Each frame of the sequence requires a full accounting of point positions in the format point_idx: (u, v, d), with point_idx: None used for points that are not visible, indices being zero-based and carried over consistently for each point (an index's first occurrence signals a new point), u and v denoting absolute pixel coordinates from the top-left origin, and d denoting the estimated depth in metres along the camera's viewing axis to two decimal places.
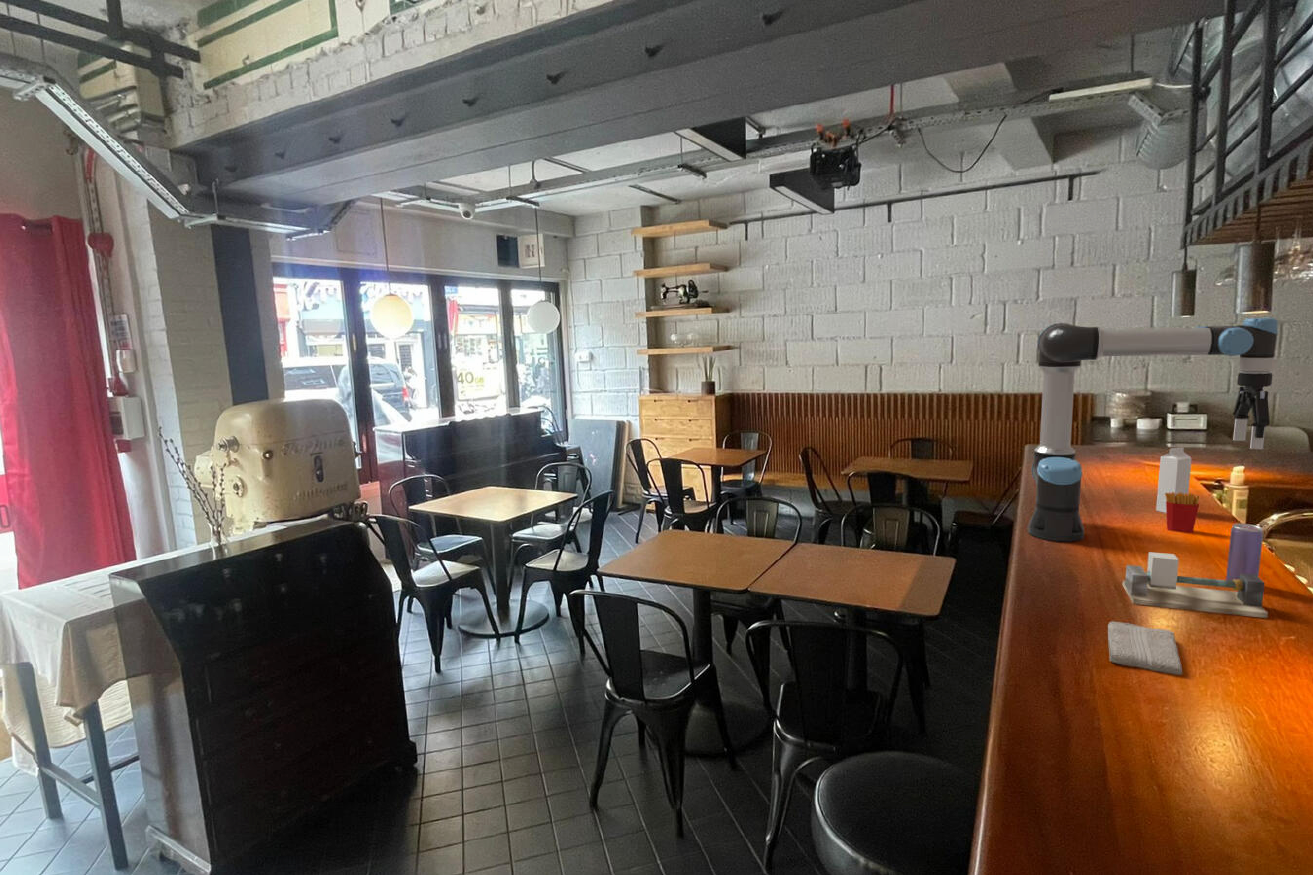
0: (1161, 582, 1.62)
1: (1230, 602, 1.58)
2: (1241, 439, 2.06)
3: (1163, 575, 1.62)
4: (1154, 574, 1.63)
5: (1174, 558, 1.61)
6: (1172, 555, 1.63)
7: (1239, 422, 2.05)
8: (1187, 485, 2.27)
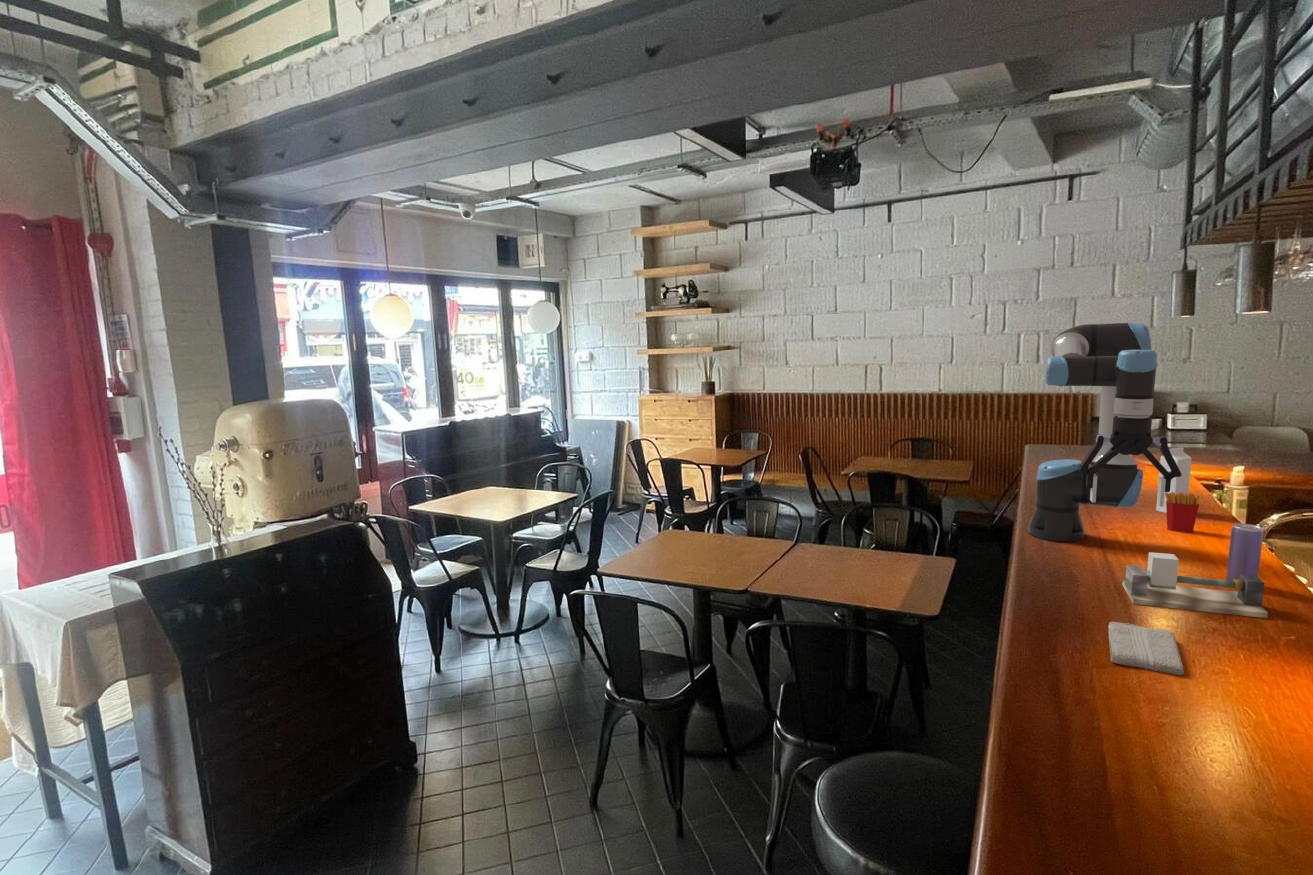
0: (1161, 582, 1.62)
1: (1230, 602, 1.58)
2: (1158, 503, 1.61)
3: (1163, 575, 1.62)
4: (1154, 574, 1.63)
5: (1174, 558, 1.61)
6: (1172, 555, 1.63)
7: (1159, 482, 1.62)
8: (1187, 485, 2.27)
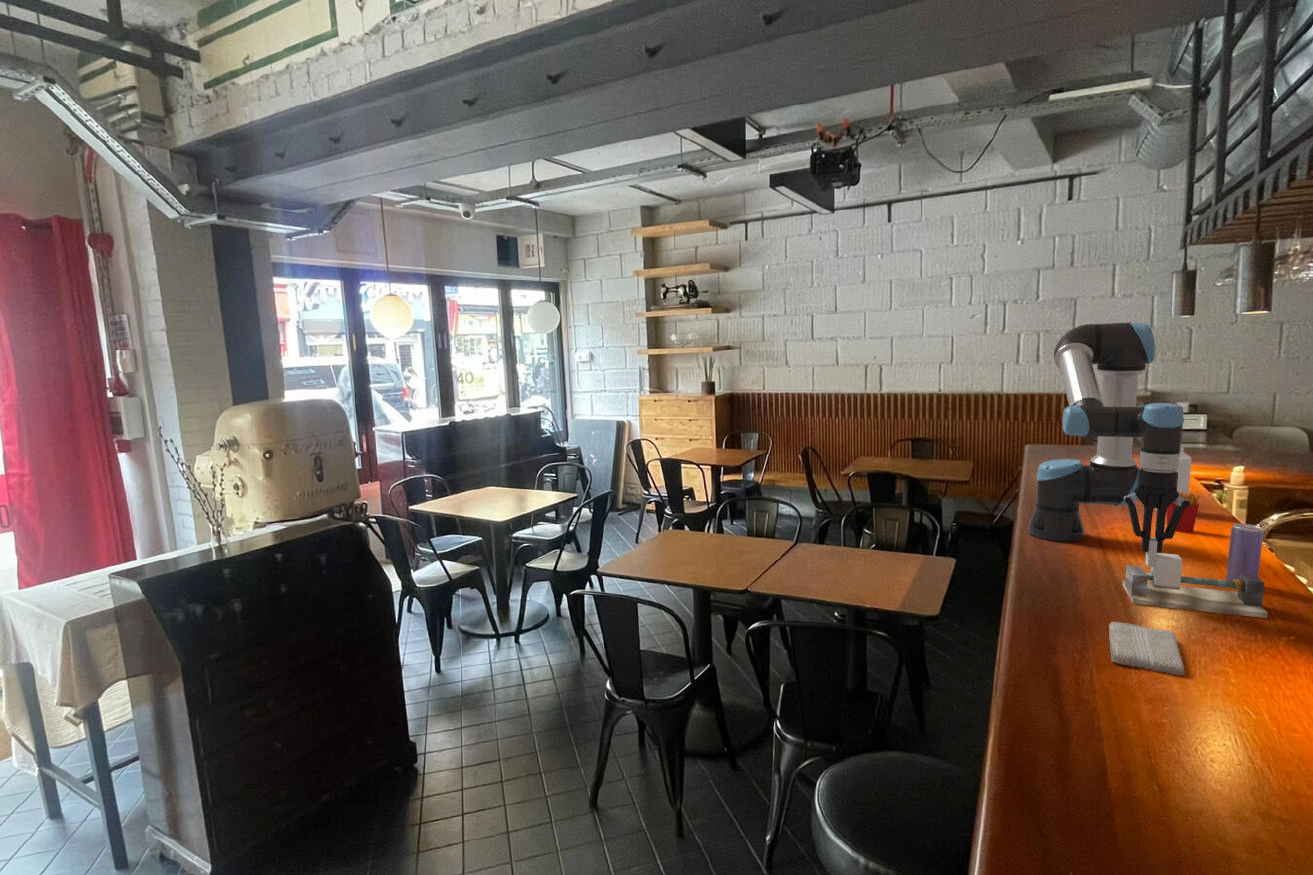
0: (1165, 582, 1.62)
1: (1230, 602, 1.58)
2: None
3: (1167, 575, 1.62)
4: (1158, 574, 1.62)
5: (1178, 558, 1.61)
6: (1176, 555, 1.63)
7: None
8: (1187, 485, 2.27)
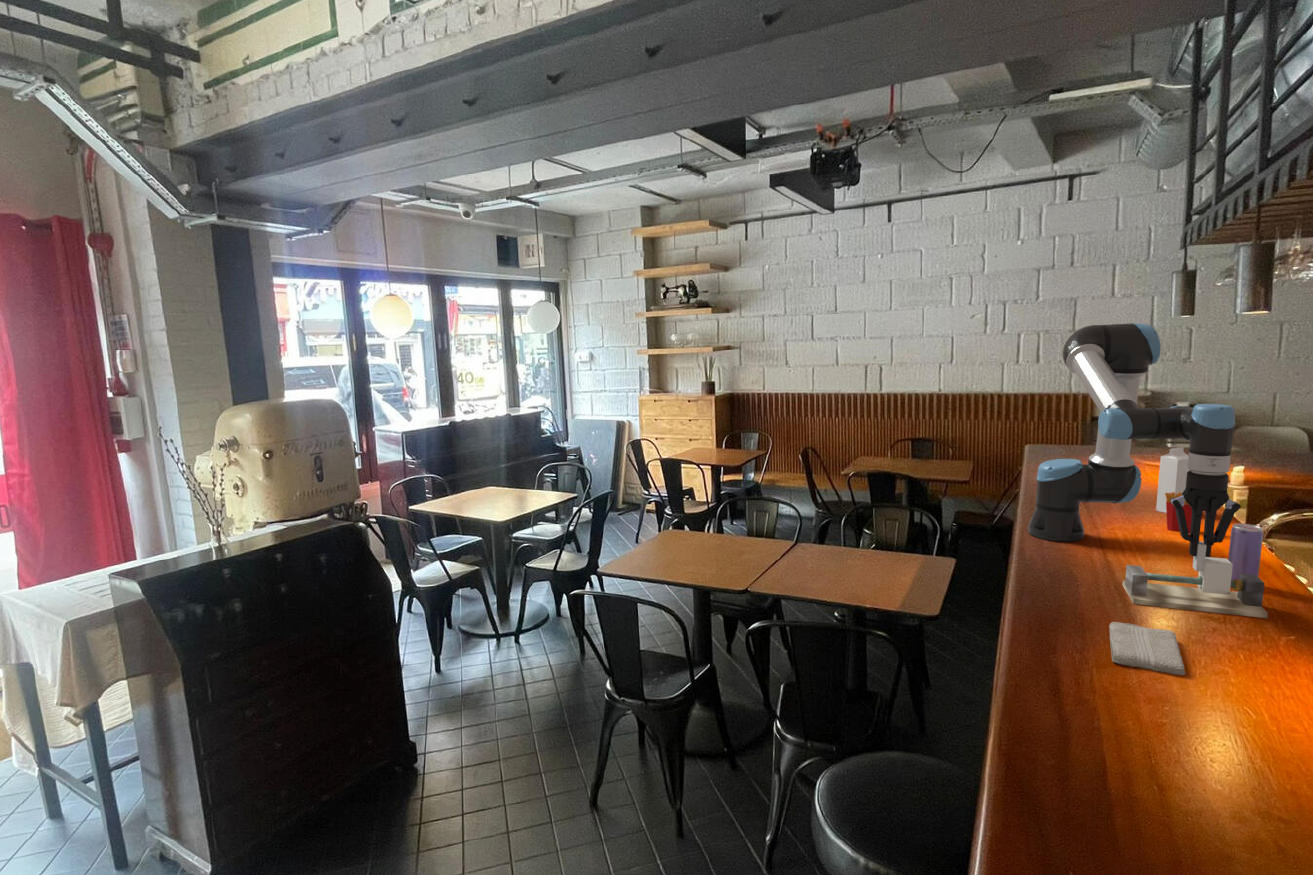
0: (1214, 587, 1.58)
1: (1230, 602, 1.58)
2: None
3: (1216, 580, 1.58)
4: (1207, 579, 1.59)
5: (1228, 563, 1.57)
6: (1225, 559, 1.59)
7: None
8: None
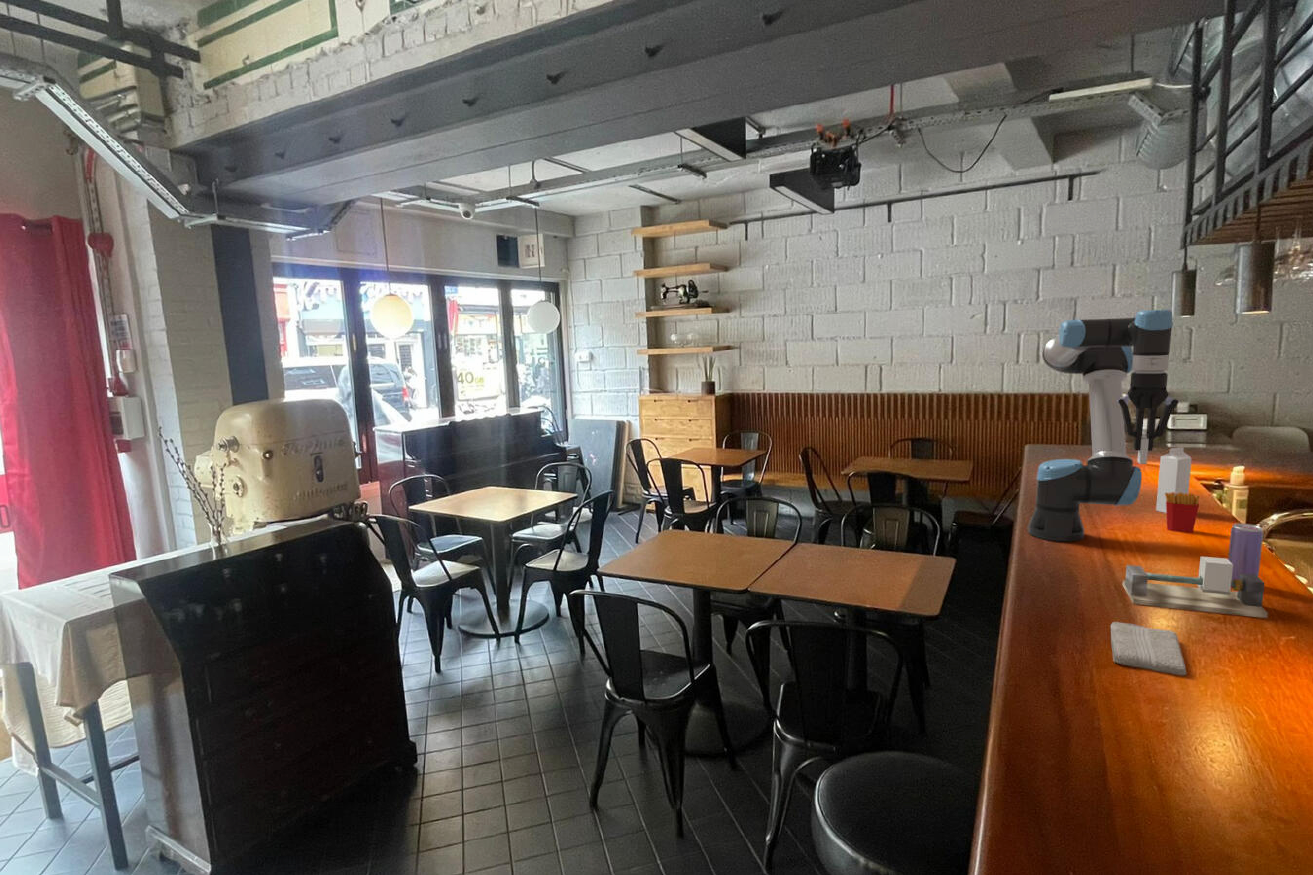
0: (1214, 587, 1.58)
1: (1230, 602, 1.58)
2: None
3: (1216, 580, 1.58)
4: (1207, 579, 1.59)
5: (1228, 563, 1.57)
6: (1225, 559, 1.59)
7: None
8: (1187, 485, 2.27)
